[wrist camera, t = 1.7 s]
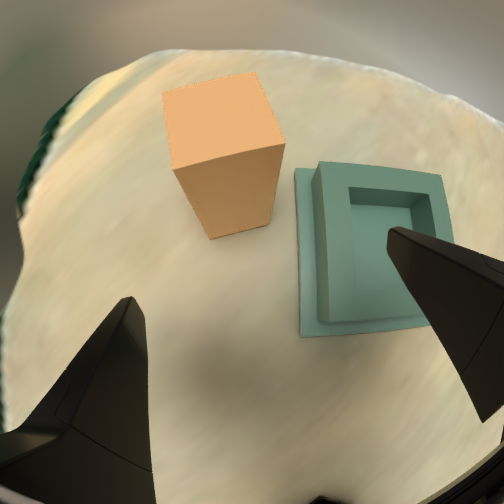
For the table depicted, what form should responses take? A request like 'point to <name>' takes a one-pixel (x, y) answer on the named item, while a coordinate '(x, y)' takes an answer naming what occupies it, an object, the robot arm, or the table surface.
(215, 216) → the plug
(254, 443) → the table surface
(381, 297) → the socket housing
